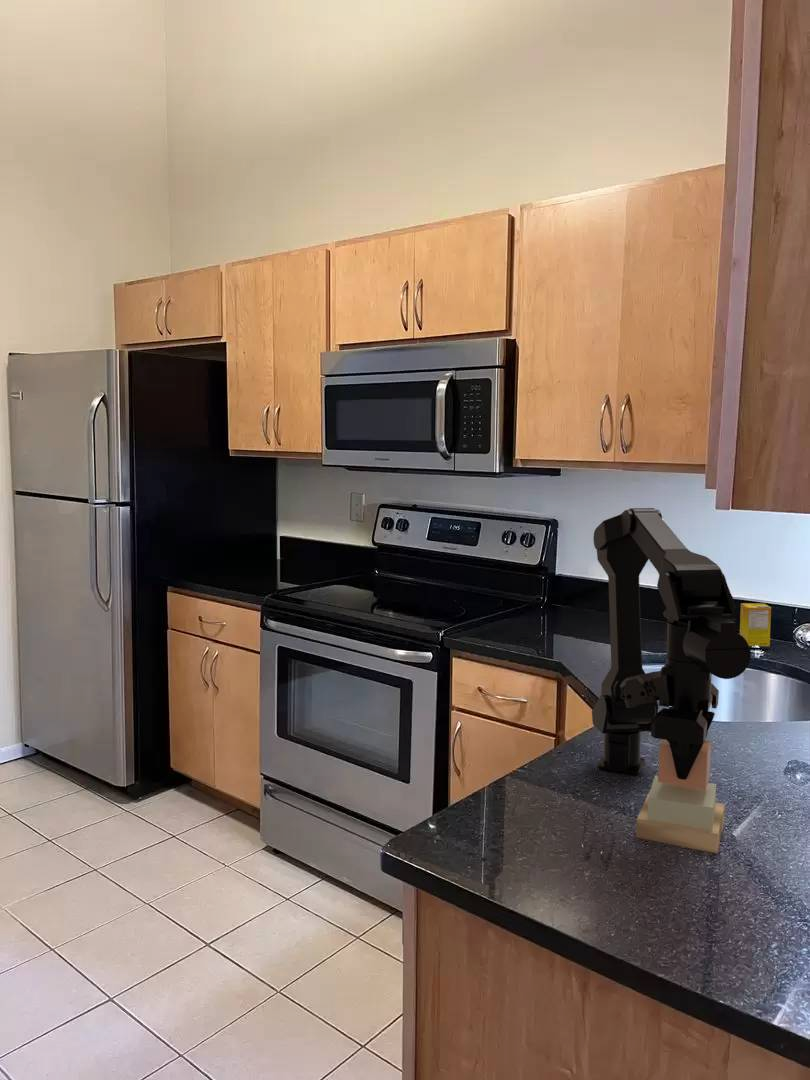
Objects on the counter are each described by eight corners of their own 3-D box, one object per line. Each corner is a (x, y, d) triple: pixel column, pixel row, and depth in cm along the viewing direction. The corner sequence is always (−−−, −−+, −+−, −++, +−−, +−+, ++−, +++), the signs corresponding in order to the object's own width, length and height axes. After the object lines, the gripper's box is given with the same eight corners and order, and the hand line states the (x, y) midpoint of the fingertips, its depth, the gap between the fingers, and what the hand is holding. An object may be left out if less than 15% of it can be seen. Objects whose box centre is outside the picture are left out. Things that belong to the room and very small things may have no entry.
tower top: (654, 795, 115) (655, 775, 115) (715, 805, 112) (716, 784, 111) (647, 819, 108) (648, 797, 107) (712, 830, 104) (713, 807, 104)
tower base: (649, 810, 117) (649, 790, 117) (724, 824, 113) (725, 803, 112) (636, 840, 108) (636, 819, 108) (716, 857, 104) (717, 834, 103)
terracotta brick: (663, 769, 113) (664, 734, 112) (709, 777, 110) (711, 741, 109) (657, 781, 109) (659, 745, 108) (705, 790, 106) (707, 752, 105)
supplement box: (762, 644, 214) (764, 602, 213) (769, 649, 208) (771, 607, 207) (738, 643, 215) (740, 602, 214) (745, 649, 209) (747, 606, 208)
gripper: (639, 636, 119) (636, 740, 121) (611, 667, 103) (607, 787, 104) (721, 644, 114) (716, 752, 116) (705, 678, 98) (700, 803, 99)
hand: (684, 772), depth 109 cm, fingers closed on terracotta brick, 4 cm apart
